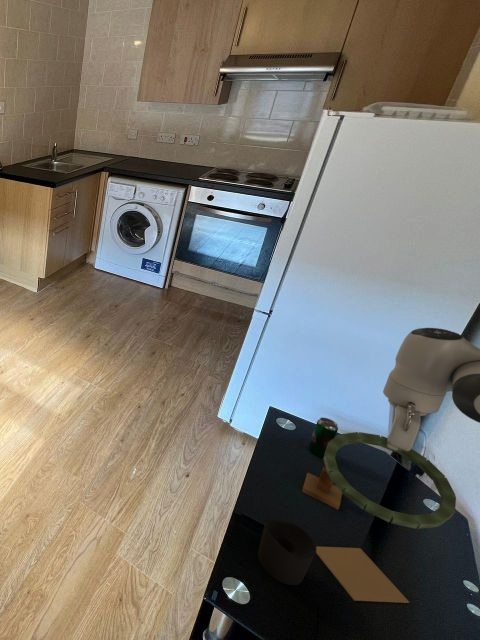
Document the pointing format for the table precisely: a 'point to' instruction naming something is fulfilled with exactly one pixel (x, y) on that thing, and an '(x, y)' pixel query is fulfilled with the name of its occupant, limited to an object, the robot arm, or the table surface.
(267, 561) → the pen holder
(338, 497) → the peg stand
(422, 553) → the table surface
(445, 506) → the ring
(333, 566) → the mat
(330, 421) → the soda can
